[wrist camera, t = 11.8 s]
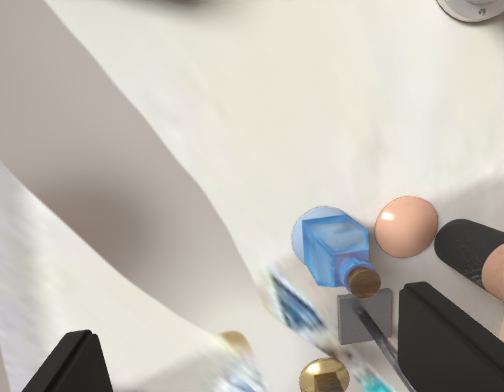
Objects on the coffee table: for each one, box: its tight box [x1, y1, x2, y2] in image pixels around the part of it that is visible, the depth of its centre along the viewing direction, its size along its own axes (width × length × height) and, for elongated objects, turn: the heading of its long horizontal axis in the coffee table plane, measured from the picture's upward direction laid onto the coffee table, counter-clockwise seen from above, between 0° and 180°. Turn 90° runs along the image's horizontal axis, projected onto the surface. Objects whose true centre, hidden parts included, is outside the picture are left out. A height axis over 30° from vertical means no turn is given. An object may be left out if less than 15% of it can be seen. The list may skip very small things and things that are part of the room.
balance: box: [299, 289, 415, 392], centre depth 37 cm, size 8×25×18 cm, turn 96°
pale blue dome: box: [291, 206, 345, 265], centre depth 41 cm, size 9×9×1 cm
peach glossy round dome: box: [375, 196, 438, 258], centre depth 42 cm, size 9×9×1 cm
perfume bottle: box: [302, 214, 381, 299], centre depth 34 cm, size 6×6×12 cm
